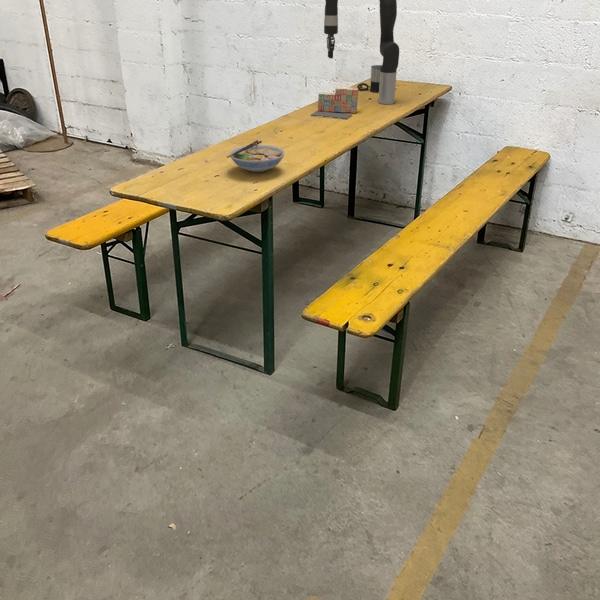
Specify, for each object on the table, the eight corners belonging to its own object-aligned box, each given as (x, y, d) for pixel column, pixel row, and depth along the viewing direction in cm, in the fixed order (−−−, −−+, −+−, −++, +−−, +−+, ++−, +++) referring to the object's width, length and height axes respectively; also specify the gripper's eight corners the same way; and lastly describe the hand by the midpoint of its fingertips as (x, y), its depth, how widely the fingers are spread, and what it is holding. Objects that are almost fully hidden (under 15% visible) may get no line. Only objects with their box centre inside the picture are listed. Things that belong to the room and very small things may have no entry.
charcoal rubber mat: (316, 112, 343) (316, 111, 342) (352, 115, 335) (352, 114, 335) (310, 115, 335) (310, 114, 335) (347, 119, 328) (347, 118, 328)
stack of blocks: (317, 111, 341) (318, 88, 335) (318, 109, 346) (319, 86, 341) (356, 113, 339) (358, 89, 334) (357, 110, 345) (358, 87, 339)
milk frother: (386, 92, 386) (388, 67, 378) (362, 93, 383) (363, 68, 375) (378, 87, 398) (380, 63, 390) (355, 89, 395) (356, 64, 387)
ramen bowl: (265, 183, 243) (264, 162, 239) (217, 174, 253) (216, 154, 249) (296, 165, 262) (296, 146, 258) (251, 157, 272) (250, 139, 268)
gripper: (340, 25, 333) (339, 59, 342) (335, 22, 345) (334, 55, 354) (326, 25, 333) (325, 60, 341) (322, 22, 345) (321, 55, 353)
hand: (330, 57), depth 348 cm, fingers open, 3 cm apart
